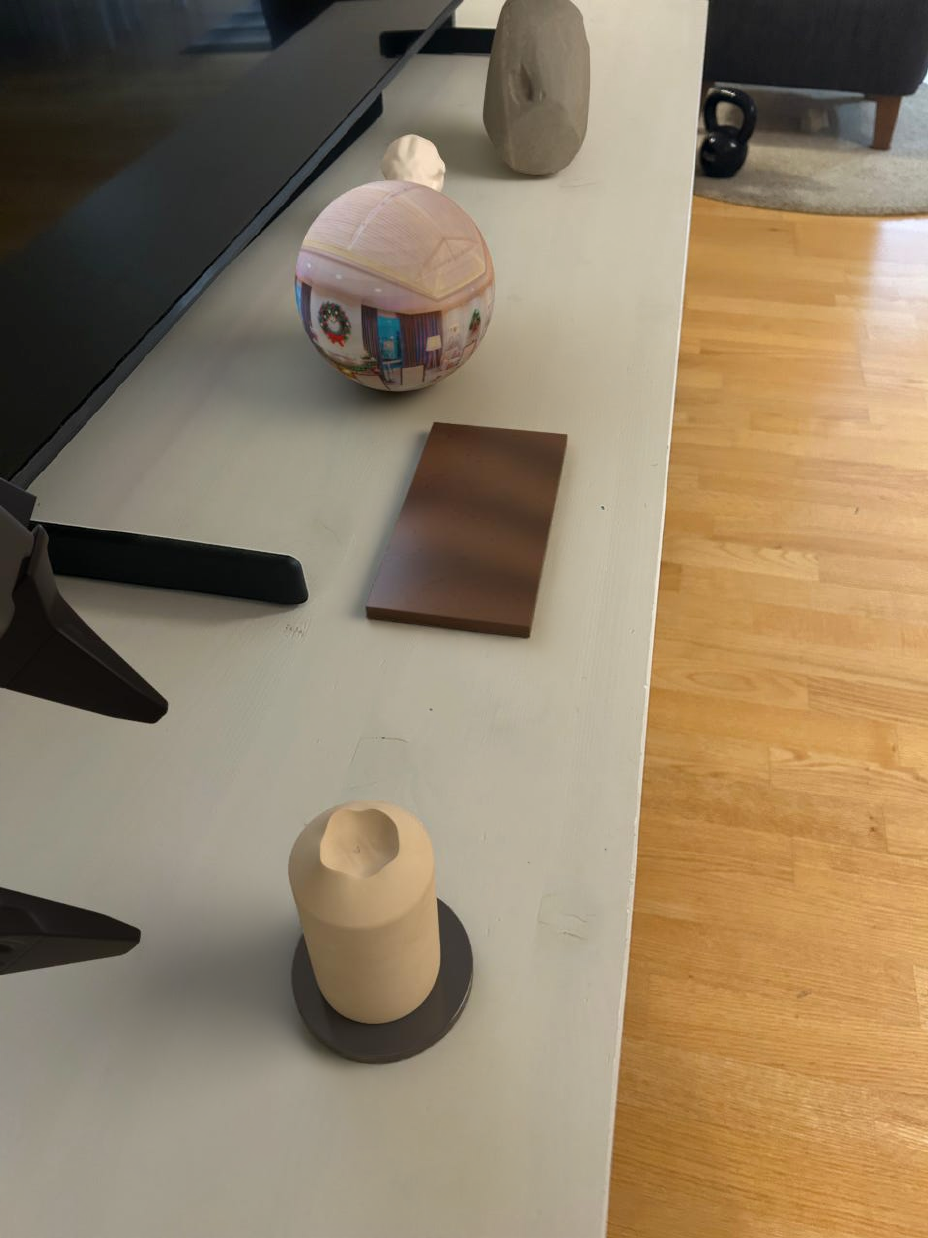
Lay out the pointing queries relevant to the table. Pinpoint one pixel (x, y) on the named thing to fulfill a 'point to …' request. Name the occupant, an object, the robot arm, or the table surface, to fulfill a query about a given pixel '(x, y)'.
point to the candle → (368, 908)
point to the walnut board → (472, 531)
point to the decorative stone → (538, 85)
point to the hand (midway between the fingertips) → (149, 817)
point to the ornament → (395, 285)
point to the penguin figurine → (414, 162)
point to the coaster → (404, 1032)
